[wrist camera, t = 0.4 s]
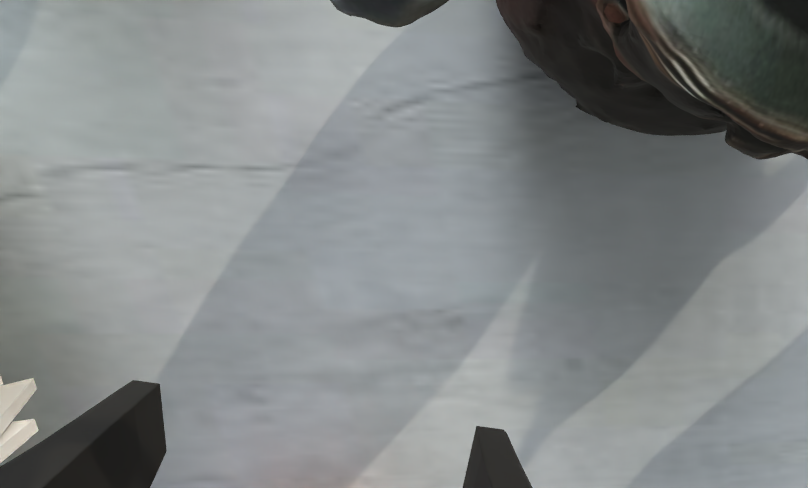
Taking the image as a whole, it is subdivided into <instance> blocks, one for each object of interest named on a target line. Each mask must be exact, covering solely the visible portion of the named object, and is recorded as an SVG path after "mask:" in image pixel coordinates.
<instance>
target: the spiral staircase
mask: <svg viewBox="0 0 808 488" xmlns="http://www.w3.org/2000/svg"><path fill="white" fill-rule="evenodd" d="M2 384H3V382H2V379H1V376H0V385H2ZM36 390H37V387H36V384H35V381H34V378H31V379H27V380H22V381H18V382H14V383H10V384H6V385H2V386H0V463H1V462H3V461H4V460H5V459H6V458H7V457H8V456H10V455H11V454H12V453H13V452H14V451H15V450H17V449H18V448H19V447H20V446H21V445H22V444H24V443H25V442H26V441H27V440H28V439H29V438H31V437H32V436H33V435H34V434H35V433H36V432H38V431H39V430H38V427H37V425H36V422H35V419H29V420H21V421H13V419H14V418H15V417H16V415H17V414H18V413H19V412H20V410H21V409H22V408H23V406H24V405H25V404H26V402H27V401H28V400H29V399H30V397H31V396H32V395H33V393H34V392H35V391H36ZM12 421H13V422H12Z"/></svg>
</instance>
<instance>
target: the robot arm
mask: <svg viewBox="0 0 808 488" xmlns="http://www.w3.org/2000/svg"><path fill="white" fill-rule="evenodd" d="M165 453H166V441H165V431H164V422H163V412H162V402H161V393H160V384H157V383H149V382H142V381H134V380H133V381H131V382H130V383H128V384H127V385H125V386H124V387H122V388H121V389H119V390H118V391H116V392H115V393H113V394H112V395H110V396H109V397H107V398H106V399H104V400H103V401H101V402H100V403H99V404H97V405H96V406H94V407H93V408H91V409H90V410H88V411H87V412H85V413H84V414H82V415H81V416H79V417H78V418H76V419H75V420H73V421H72V422H70V423H69V424H67V425H66V426H64V427H63V428H61V429H60V430H58V431H57V432H55V433H54V434H52V435H51V436H49V437H48V438H46V439H45V440H43V441H42V442H40V443H39V444H37V445H35V446H34V447H32V448H31V449H29V450H27V451H26V452H24V453H22V454H21V455H19V456H18V457H16V458H14V459H13V460H11V461H9V462H8V463H6V464H4V465H3V466H1V467H0V488H150V486H151V484H152V482H153V480H154V478H155V476H156V473H157V471H158V469H159V467H160V465H161V462H162V460H163V458H164V456H165ZM463 488H532V486H531V484H530V482H529V480H528V478H527V476H526V474H525V472H524V470H523V468H522V466H521V464H520V461H519V459H518V457H517V455H516V453H515V451H514V448H513V446H512V444H511V442H510V439H509V437H508V435H507V433H506V432H505V431H504V430H502V429H495V428H487V427H480V426H476V431H475V435H474V440H473V444H472V449H471V453H470V458H469V462H468V467H467V471H466V476H465V480H464V485H463Z"/></svg>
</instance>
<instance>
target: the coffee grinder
mask: <svg viewBox="0 0 808 488" xmlns="http://www.w3.org/2000/svg"><path fill="white" fill-rule="evenodd" d="M330 1H331V2H332V3H333V5H334V6H335V7H336V9H337V10H339V11H341V12H343V13H345V14H347V15H349V16H357V17H362V18H366V19H368V20H370V21H373V22H375V23H377V24H381V25H385V26H390V27H402V26H405V25H408V24H411V23H413V22H414V21H416V20H417V19H419V18H421V17H423V16H425V15H427V14H429V13H431V12H432V11H434V10H436V9H437V8H439V7H440V6H442V5H444V4H445V3H446V2H447V1H449V0H330ZM496 3H497V7H498V9H499V11H500V14H501V15H502V17H503V19H504V21H505V23H506V24H507V26H508V27H509V29H510V30H511V32H512V33H513V34H514V36H515V37H516V38H517V40H518V41H519V43H520V45H521V47H522V49H523V52H524V54H525V56H526V57H527V58H528V59H529V60H530V61H532V62H533V63H534V64H536V65H537V66H538V67H539V68H541V69H542V70H543V71H544V72H545V74H546V75H547V76H548V77H549V78H552V79H554V80H555V81H556V82H557V83H558V84H559V85H560V87H561V88H562V89H563V90H565V91H566V92H567V93H568V94H569V95H571V96H572V97H573V98H575V99H576V102H577V106H576V107H577V108H578V109H580V110H582V111H584V112H586V113H588V114H590V115H592V116H595V117H597V118H599V119H601V120H602V121H604V122H608V123H611V124H613V125H616V126H620V127H623V128H626V129H630V130H633V131H636V132H641V133H646V134H652V135H666V136H675V135H704V134H713V133H719V132H722V131H725V130H727V133H726V137H725V142H726V143H727V144H728V145H729V146H731V147H732V148H735V149H737V150H739V151H740V152H742V153H743V154H746V155H748V156H751V157H753V158H756V159H768V158H774V157H777V156H780V155H784V154H787V153H795V154H798V155H801V156H803V157H805V158H807V159H808V0H496Z"/></svg>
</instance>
